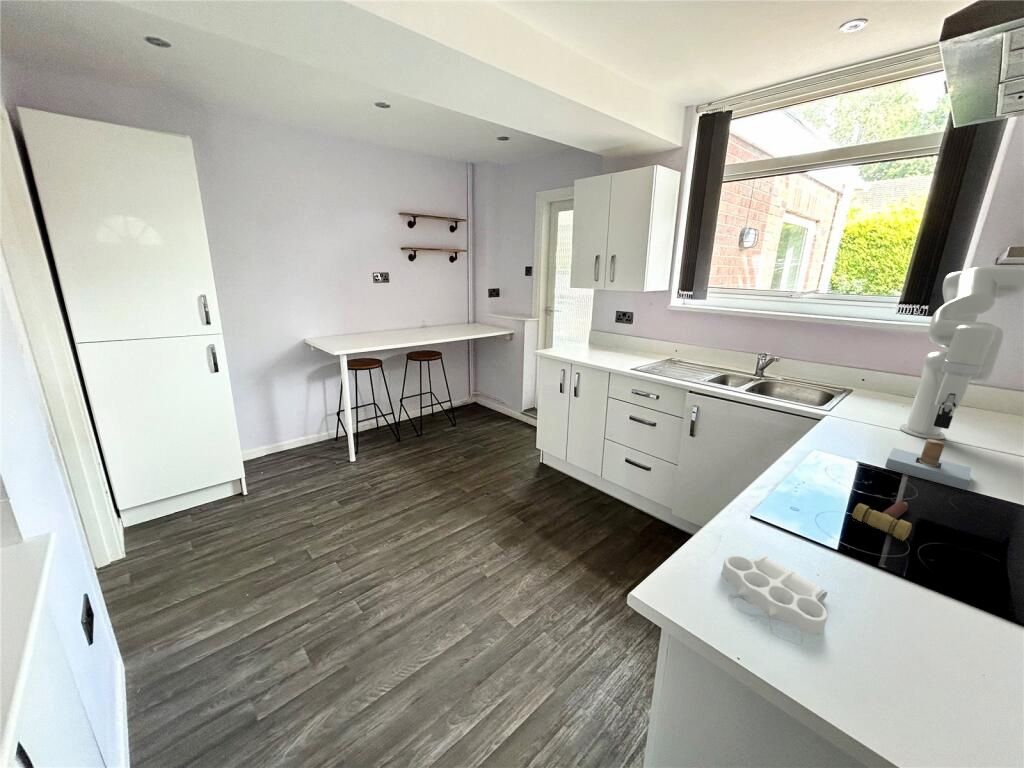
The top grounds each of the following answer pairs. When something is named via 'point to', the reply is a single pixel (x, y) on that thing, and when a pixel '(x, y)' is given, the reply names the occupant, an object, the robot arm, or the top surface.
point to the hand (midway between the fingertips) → (942, 423)
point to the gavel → (885, 519)
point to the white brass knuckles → (778, 591)
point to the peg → (931, 453)
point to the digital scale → (929, 468)
